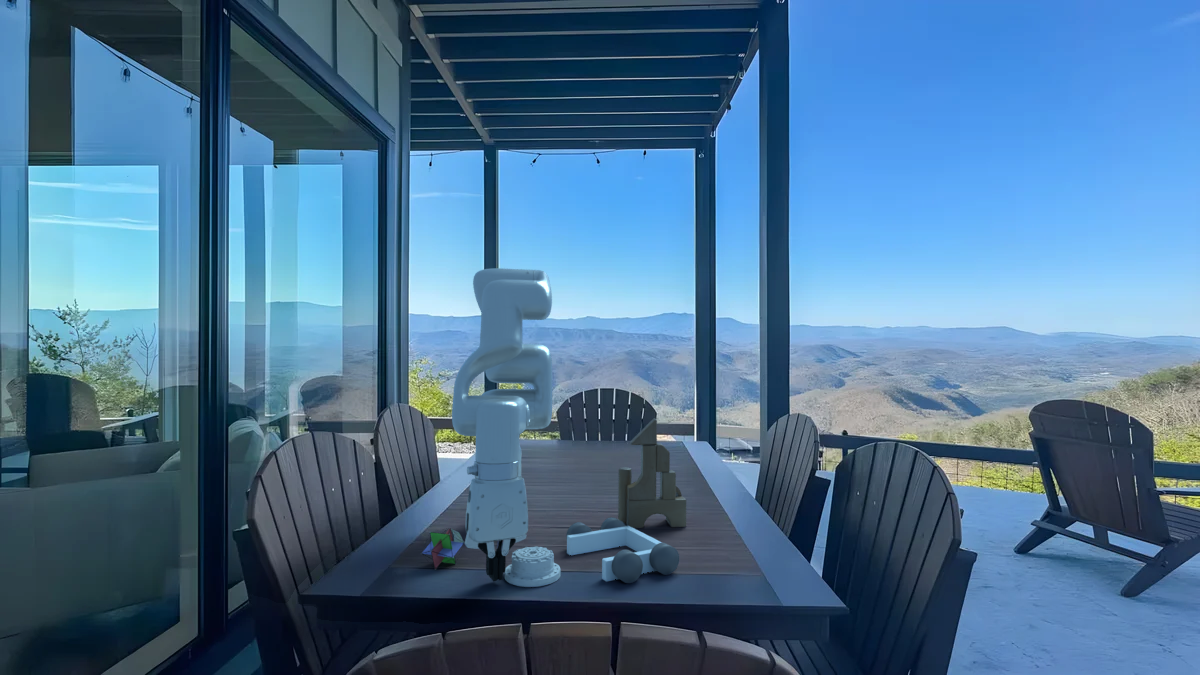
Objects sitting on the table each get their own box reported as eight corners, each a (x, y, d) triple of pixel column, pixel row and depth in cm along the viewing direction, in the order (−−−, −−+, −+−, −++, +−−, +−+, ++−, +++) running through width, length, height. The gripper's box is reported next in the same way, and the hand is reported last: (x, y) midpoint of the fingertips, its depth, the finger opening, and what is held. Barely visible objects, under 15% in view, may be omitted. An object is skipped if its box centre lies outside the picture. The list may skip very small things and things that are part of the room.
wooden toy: (679, 518, 135) (679, 416, 136) (686, 527, 128) (686, 419, 129) (617, 520, 134) (618, 416, 135) (620, 528, 127) (621, 419, 128)
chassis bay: (561, 549, 113) (561, 524, 113) (622, 538, 120) (622, 515, 120) (613, 586, 94) (613, 557, 94) (681, 571, 101) (681, 544, 101)
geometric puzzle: (442, 565, 97) (458, 521, 102) (409, 561, 99) (426, 518, 104) (459, 578, 103) (473, 536, 108) (427, 573, 105) (442, 532, 110)
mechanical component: (546, 592, 92) (568, 571, 102) (547, 565, 93) (569, 546, 102) (494, 584, 96) (520, 564, 105) (494, 558, 96) (520, 540, 105)
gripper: (459, 479, 89) (457, 594, 88) (545, 471, 96) (544, 577, 95) (448, 470, 96) (446, 578, 95) (529, 463, 103) (528, 563, 102)
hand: (495, 577), depth 95 cm, fingers closed
